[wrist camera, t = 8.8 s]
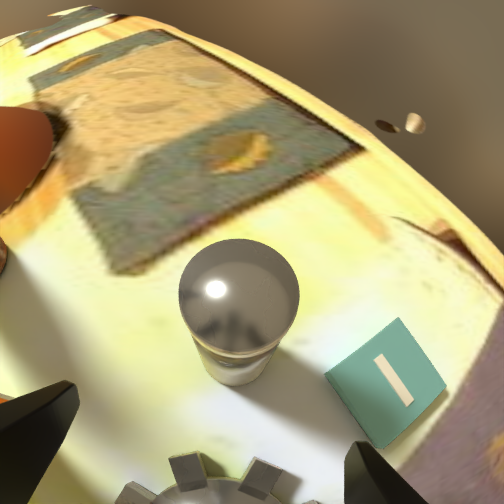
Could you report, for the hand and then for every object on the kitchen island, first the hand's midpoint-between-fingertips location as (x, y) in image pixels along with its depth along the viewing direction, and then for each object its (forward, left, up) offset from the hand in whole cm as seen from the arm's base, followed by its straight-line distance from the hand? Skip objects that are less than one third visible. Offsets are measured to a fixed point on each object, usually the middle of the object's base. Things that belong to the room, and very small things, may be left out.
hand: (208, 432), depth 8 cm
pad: (-4, -11, -12) cm, 17 cm away
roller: (+4, -3, -12) cm, 13 cm away
